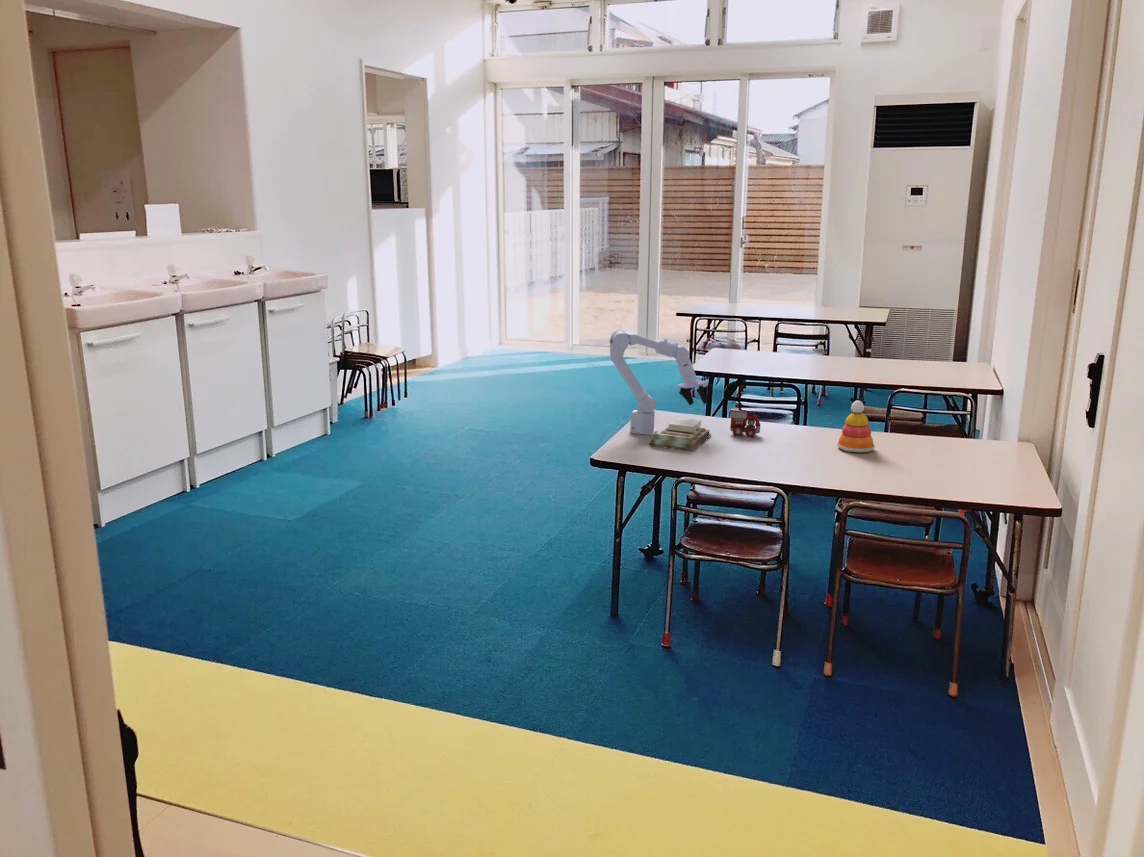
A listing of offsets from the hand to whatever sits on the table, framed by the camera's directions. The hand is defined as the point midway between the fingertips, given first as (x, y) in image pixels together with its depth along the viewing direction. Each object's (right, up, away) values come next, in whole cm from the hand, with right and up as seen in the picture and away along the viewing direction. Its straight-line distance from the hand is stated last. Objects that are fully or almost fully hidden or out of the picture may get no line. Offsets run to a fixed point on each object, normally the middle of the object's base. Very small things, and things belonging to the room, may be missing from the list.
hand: (698, 403), depth 368 cm
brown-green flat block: (-9, -15, -11) cm, 21 cm away
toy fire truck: (+19, -13, -1) cm, 23 cm away
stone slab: (-6, -10, -5) cm, 13 cm away
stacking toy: (+58, -19, -19) cm, 64 cm away
